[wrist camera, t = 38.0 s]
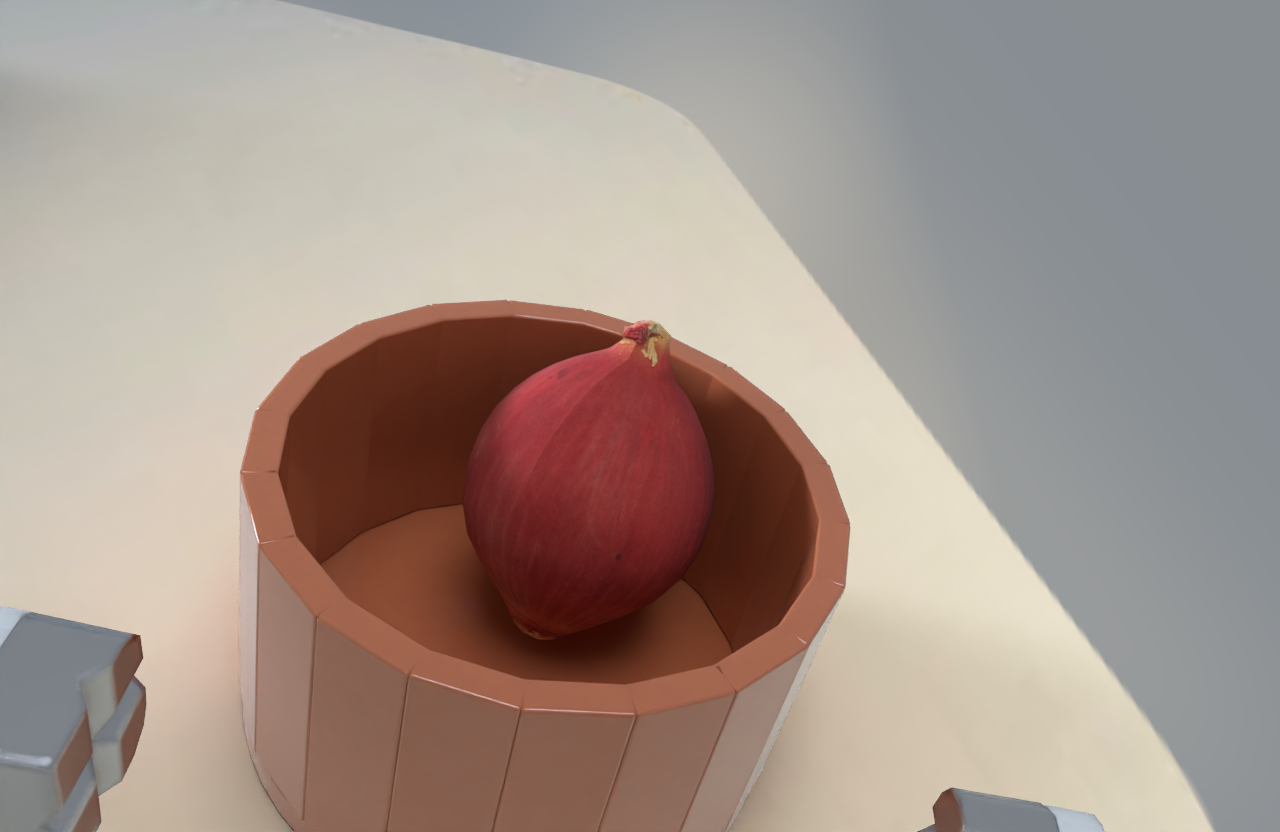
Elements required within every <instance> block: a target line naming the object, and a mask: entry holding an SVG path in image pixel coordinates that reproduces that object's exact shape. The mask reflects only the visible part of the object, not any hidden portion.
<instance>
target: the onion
mask: <svg viewBox="0 0 1280 832" xmlns="http://www.w3.org/2000/svg"><path fill="white" fill-rule="evenodd" d="M622 336H623V337H624V338H623V339H622V340H621V341H619V342H618V343H616V344H615V345H613V346H612V347H610V348H608V349H604V350H599V351H595V352H591V353H587V354H583V355H579V356H575V357H571V358H569V359H566V360H563V361H560V362H558V363H555V364H553V365H551V366H549V367H547V368H545V369H543V370H541V371H539V372H537V373H535V374H533V375H532V376H530V377H529V378H528V379H526V380H525V381H523V382H522V383H520V384H519V385H517V386H516V387H515V388H514V389H513V390H512V391H511V392H510V393H509V394H508V395H507V396H506V397H505V398H504V399H503V400H502V401H500V402H499V403H498V404H497V406H496V407H495V409H494V410H493V412H492V413H491V415H490V416H489V417H488V419H487V420H486V422H485V423H484V425H483V426H482V428H481V430H480V433H479V435H478V437H477V440H476V442H475V445H474V447H473V449H472V452H471V454H470V457H469V463H468V470H467V477H466V482H465V486H464V491H463V496H462V502H463V509H464V516H465V523H466V529H467V534H468V536H469V538H470V541H471V543H472V545H473V547H474V549H475V551H476V553H477V555H478V557H479V560H480V562H481V564H482V565H483V567H484V568H485V570H486V571H487V573H488V574H489V576H490V578H491V579H492V581H493V582H494V584H495V585H496V587H497V589H498V590H499V592H500V594H501V596H502V597H503V599H504V601H505V603H506V605H507V608H508V611H509V613H510V615H511V618H512V620H513V621H514V623H515V624H516V625H517V626H518V628H519V629H520V630H521V631H522V632H523V633H525V634H527V635H530V636H531V637H534V638H536V639H539V640H553V639H556V638H559V637H562V636H565V635H568V634H571V633H574V632H577V631H580V630H584V629H587V628H590V627H594V626H597V625H600V624H603V623H606V622H609V621H612V620H615V619H618V618H621V617H623V616H625V615H627V614H630V613H632V612H634V611H636V610H638V609H640V608H642V607H644V606H646V605H648V604H650V603H653V602H654V601H655V600H657V599H658V598H659V597H660V596H661V595H662V594H664V593H665V592H666V591H667V590H668V589H670V588H671V587H672V586H673V585H674V584H676V583H677V582H678V581H679V580H680V579H682V577H683V576H684V574H685V573H686V571H687V570H688V568H689V567H690V565H691V564H692V562H693V561H694V559H695V557H696V556H697V554H698V553H699V551H700V550H701V548H702V546H703V543H704V540H705V536H706V533H707V529H708V526H709V523H710V519H711V516H712V509H713V499H714V489H715V483H714V473H713V464H712V458H711V454H710V451H709V447H708V443H707V439H706V436H705V434H704V431H703V429H702V426H701V424H700V421H699V419H698V416H697V414H696V411H695V410H694V408H693V406H692V404H691V402H690V400H689V399H688V397H687V395H686V394H685V392H684V391H683V389H682V388H681V387H680V385H679V384H678V383H677V381H676V378H675V376H674V374H673V371H672V369H671V360H670V348H669V343H670V340H671V335H670V334H669V333H668V332H667V331H666V330H665V329H664V328H663V327H662V326H661V325H660V324H658V323H656V322H653V321H651V320H643V321H639V322H636V323H635V324H633V325H632V326H627V327H625V328H624V331H623V334H622Z"/></svg>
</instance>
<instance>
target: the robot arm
mask: <svg viewBox="0 0 1280 832" xmlns="http://www.w3.org/2000/svg"><path fill="white" fill-rule="evenodd" d="M142 659H143V653H142V646H141V638H140V635H136V634H131V633H126V632H122V631H117V630H112V629H108V628H103V627H98V626H94V625H89V624H84V623H80V622H75V621H70V620H66V619H61V618H56V617H52V616H47V615H42V614H38V613H34V612H29V611H24V610H19V609H14V608H9V607H4V606H0V832H96V831H97V829H98V827H99V825H100V823H101V815H100V806H99V797H98V796H100V795H101V794H103V793H104V792H106V791H107V790H109V789H110V788H112V787H113V786H115V785H117V784H118V783H120V782H121V781H122V779H123V777H124V775H125V773H126V771H127V769H128V767H129V765H130V763H131V761H132V759H133V756H134V754H135V751H136V748H137V745H138V741H139V738H140V735H141V732H142V729H143V726H144V718H145V710H146V690H145V687H144V686H143V684H142V683H141V682H140V681H139V680H138V679H137V678H136V677H135V676H134V674H135V672H136V670H137V668H138V667H139V665H140V663H141V661H142ZM933 812H934V819H935V824H934V825H931V826H929V827H927V828H925V829H922V830H920V831H918V832H1104V829H1103V826H1102V824H1101V823H1100V822H1099V820H1098V819H1097V818H1096V816H1095V815H1093V814H1089V813H1085V812H1079V811H1074V810H1068V809H1062V808H1057V807H1051V806H1044V805H1042V804H1041V803H1037V802H1031V801H1026V800H1020V799H1014V798H1008V797H1003V796H997V795H991V794H985V793H980V792H974V791H968V790H962V789H957V788H950V789H948V790H946V791H944V792H942V793H941V795H940V796H939V798H938V800H937V801H936V803H935V804H934V806H933Z"/></svg>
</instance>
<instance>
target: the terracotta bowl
mask: <svg viewBox="0 0 1280 832" xmlns="http://www.w3.org/2000/svg"><path fill="white" fill-rule="evenodd" d="M632 325H633V323H630V322H627V321H623V320H620V319H617V318H613V317H610V316H606V315H603V314H600V313H596V312H593V311H590V310H586V311H585V310H583V309H577V308H569V307H560V306H552V305H544V304H535V303H527V302H519V301H509V302H508V301H507V300H496V301H478V302H460V303H443V304H432V305H426V306H423V307H419V308H415V309H412V310H408V311H404V312H400V313H397V314H393V315H389V316H386V317H382V318H378V319H374V320H371V321H367V322H363V323H361V324H360V325H359V324H358V325H356V326H354V327H352V328H350V329H349V330H347V331H345V332H343V333H342V334H340V335H338V336H337V337H335V338H333V339H331V340H330V341H328V342H326V343H324V344H323V345H321V346H319V347H317V348H316V349H314V350H312V351H311V352H309V353H307V354H305V355H304V356H302V357H300V359H299V360H298V361H296V363H295V364H294V365H293V366H292V367H291V369H290V370H289V371H288V372H287V373H286V375H285V376H284V377H283V378H282V379H281V381H280V382H279V383H278V384H277V385H276V387H275V388H274V389H273V390H272V391H271V393H270V394H269V395H268V396H267V397H266V398H265V400H264V401H263V402H262V403H261V404H260V406H259V407H258V408H257V410H256V411H255V413H254V417H253V421H252V426H251V430H250V434H249V438H248V442H247V446H246V450H245V454H244V458H243V462H242V466H241V470H240V579H239V684H240V689H241V694H242V702H243V719H244V729H245V733H246V738H247V742H248V746H249V750H250V755H251V758H252V760H253V763H254V765H255V768H256V770H257V772H258V775H259V777H260V780H261V782H262V784H263V787H264V788H265V790H266V791H267V793H268V795H269V796H270V798H271V800H272V801H273V803H274V804H275V806H276V808H277V809H278V811H279V813H280V814H281V816H282V817H283V818H284V819H285V820H286V821H287V823H288V824H289V825H290V826H291V827H292V829H293V830H294V831H295V832H728V830H729V829H730V828H731V826H732V825H733V823H734V821H735V819H736V817H737V815H738V813H739V812H740V810H741V808H742V806H743V804H744V802H745V800H746V798H747V796H748V794H749V792H750V790H751V788H752V787H753V785H754V783H755V782H756V780H757V778H758V777H759V775H760V773H761V771H762V769H763V767H764V765H765V763H766V760H767V758H768V756H769V754H770V752H771V750H772V747H773V745H774V743H775V741H776V739H777V736H778V734H779V732H780V730H781V728H782V726H783V723H784V721H785V719H786V717H787V715H788V712H789V710H790V708H791V706H792V704H793V702H794V699H795V697H796V695H797V693H798V691H799V688H800V686H801V684H802V682H803V680H804V678H805V675H806V673H807V671H808V669H809V667H810V665H811V662H812V660H813V658H814V656H815V654H816V651H817V649H818V647H819V645H820V643H821V641H822V638H823V636H824V634H825V632H826V630H827V627H828V625H829V623H830V621H831V619H832V617H833V614H834V612H835V610H836V608H837V606H838V603H839V601H840V599H841V597H842V595H843V593H844V589H845V586H846V574H847V562H848V550H849V538H850V522H849V519H848V516H847V513H846V511H845V508H844V505H843V502H842V499H841V497H840V494H839V491H838V488H837V485H836V483H835V480H834V477H833V474H832V471H831V468H830V466H829V465H828V464H827V462H826V460H825V459H824V458H823V457H822V455H821V454H820V453H819V452H818V450H817V449H816V448H815V446H814V445H813V444H812V443H811V441H810V440H809V439H808V438H807V436H806V435H805V434H804V432H803V431H802V430H801V429H800V427H799V426H798V425H797V423H796V422H795V421H794V420H793V418H792V417H791V416H790V415H789V413H788V412H786V411H785V409H784V408H783V407H782V406H780V405H779V404H778V403H776V402H775V401H774V400H773V399H771V398H770V397H769V396H767V395H766V394H765V393H764V392H762V391H761V390H760V389H758V388H757V387H756V386H755V385H753V384H752V383H751V382H749V381H748V380H747V379H746V378H744V377H743V376H742V375H740V374H739V373H738V372H736V371H735V370H734V369H733V368H731V367H727V365H726V364H724V363H722V362H720V361H718V360H716V359H714V358H712V357H710V356H708V355H706V354H704V353H702V352H700V351H698V350H696V349H694V348H692V347H690V346H688V345H686V344H684V343H682V342H680V341H678V340H676V339H674V338H672V337H671V340H670V343H669V348H670V360H671V369H672V371H673V374H674V376H675V378H676V381H677V383H678V384H679V385H680V387H681V388H682V389H683V391H684V392H685V394H686V395H687V397H688V399H689V400H690V402H691V404H692V406H693V408H694V410H695V411H696V414H697V416H698V419H699V421H700V424H701V426H702V429H703V431H704V434H705V436H706V439H707V443H708V447H709V451H710V454H711V458H712V464H713V473H714V483H715V489H714V499H713V509H712V516H711V519H710V523H709V526H708V529H707V533H706V536H705V540H704V543H703V546H702V548H701V550H700V551H699V553H698V554H697V556H696V557H695V559H694V561H693V562H692V564H691V565H690V567H689V568H688V570H687V571H686V573H685V574H684V576H683V577H682V579H680V580H679V581H678V582H677V583H676V584H674V585H673V586H672V587H671V588H670V589H668V590H667V591H666V592H665V593H664V594H662V595H661V596H660V597H659V598H658V599H657V600H655V601H654V602H653V603H650V604H648V605H646V606H644V607H642V608H640V609H638V610H636V611H634V612H632V613H630V614H627V615H625V616H623V617H621V618H618V619H615V620H612V621H609V622H606V623H603V624H600V625H597V626H594V627H590V628H587V629H584V630H580V631H577V632H574V633H571V634H568V635H565V636H562V637H559V638H556V639H553V640H539V639H536V638H534V637H531V636H530V635H527V634H525V633H523V632H522V631H521V630H520V629H519V628H518V626H517V625H516V624H515V623H514V621H513V620H512V618H511V615H510V613H509V611H508V608H507V605H506V603H505V601H504V599H503V597H502V596H501V594H500V592H499V590H498V589H497V587H496V585H495V584H494V582H493V581H492V579H491V578H490V576H489V574H488V573H487V571H486V570H485V568H484V567H483V565H482V564H481V562H480V560H479V557H478V555H477V553H476V551H475V549H474V547H473V545H472V543H471V541H470V538H469V536H468V534H467V529H466V523H465V516H464V509H463V502H462V496H463V491H464V486H465V482H466V477H467V470H468V463H469V457H470V454H471V452H472V449H473V447H474V445H475V442H476V440H477V437H478V435H479V433H480V430H481V428H482V426H483V425H484V423H485V422H486V420H487V419H488V417H489V416H490V415H491V413H492V412H493V410H494V409H495V407H496V406H497V404H498V403H499V402H500V401H502V400H503V399H504V398H505V397H506V396H507V395H508V394H509V393H510V392H511V391H512V390H513V389H514V388H515V387H516V386H517V385H519V384H520V383H522V382H523V381H525V380H526V379H528V378H529V377H530V376H532V375H533V374H535V373H537V372H539V371H541V370H543V369H545V368H547V367H549V366H551V365H553V364H555V363H558V362H560V361H563V360H566V359H569V358H571V357H575V356H579V355H583V354H587V353H591V352H595V351H599V350H604V349H608V348H610V347H612V346H613V345H615V344H616V343H618V342H619V341H621V340H622V339H623V338H624V337H623V336H622V334H623V331H624V328H625V327H627V326H632Z"/></svg>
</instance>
